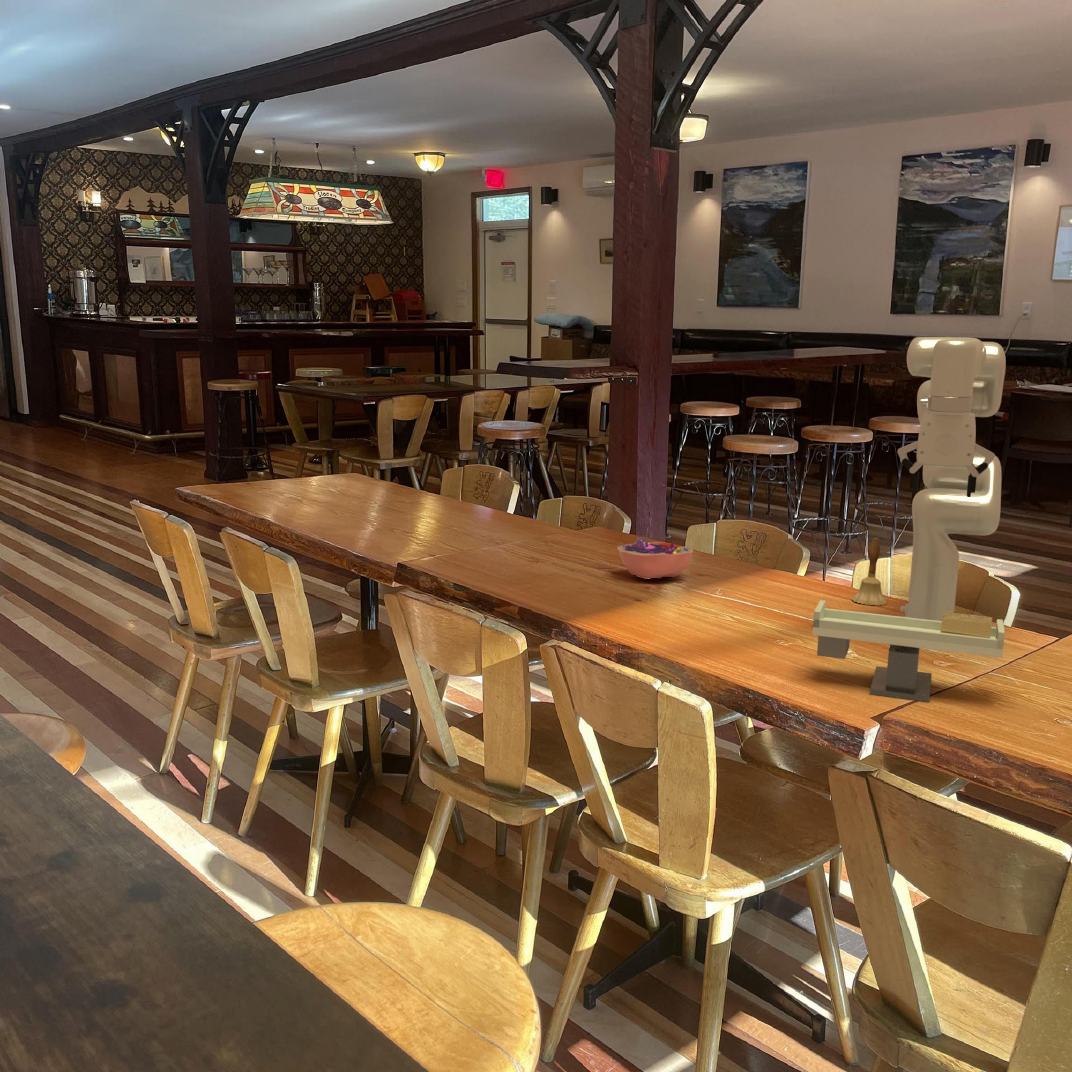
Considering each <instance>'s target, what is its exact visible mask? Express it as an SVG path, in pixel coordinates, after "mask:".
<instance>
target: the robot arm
mask: <svg viewBox="0 0 1072 1072" xmlns="http://www.w3.org/2000/svg"><path fill="white" fill-rule="evenodd" d="M1006 359H1007V358H1006V354H1005V349H1004V348H1003V347H1002V345H1001V344H999V343H998V342H994V341H982V340H980V339H978V338H975V337H967V336H965V337H964V336H963V337H960V336H959V337H957V336H918V337H914V338H913V339H912V340H911V342H910V344H909V346H908V349H907V352H906V365H907V369H908V372H909V373H910V375H911V376H913V377H923V378H930V379H929V380H926V381H924V382H923V383H922V384H920V386H919V388H918V391H917V395H916V406H917V415H918V417H917V418H918V421H919V424H920V426H919V431H918V438H917V440H916V441H914V442H912V443H910V444H909V443H908V444H907V445H904V446H901V447H900V448H898V449H897V452H896V453H897V455H898V457H899V459H900V461H901V463H902V465H903V466H904V467H905V468H906V469H907V470H908V471H909V473H910V482H909V489H910V490H912V494H913V495H914V497H913V499H912V505H911V516H912V531H913V532H912V533H913V535H912V537H913V539H912V555H911V564H910V565H911V566H910V567H911V568H910V577H909V590H908V591H909V592H908V602H907V603H906V604H904V605H901V606H900V607H899V611H900V612H902V613H904V617H908V618H917V619H926V620H935V621H942V617H943V614H944V611H945V612H953V613H955V605H956V594H957V585H958V584H957V583H958V575H959V562H960V553H959V551H958V547H957V545H956V544H955V543H954V542H953V541H952V539H951V538H950V537H949V534H950V535H952V534H953V535H954V534H957V535H968V536H989V535H992V534H994V533H995V532H996V530H997V529H998V528H999V524H1000V520H1001V502H1002V501H1001V500H1002V499H1001V498H1002V465H1001V461H1000V459H999V457H998V456H996V455H995V453H994V452H992V451H990V450H988V449H986V448H985V447H983V446H981V445H979V444H977V443H976V436H977V435H976V431H977V429H976V428H977V427H976V418H977V417H978V418H989V417H992V416H994V415H996V413H998V412H999V410H1000V407H1001V404H1002V397H1003V389H1004V382H1005V376H1006V366H1007V365H1006V363H1007V362H1006ZM914 450H916V461H915V462H914V463H913V462H912V461H911V460H910V458H908V455H907V454H908V453H910V452H912V451H914ZM921 467H922V480H923V481H922V482H923V484H924V486H925V488H924V489H922V490H919V491H918V489H919V478H920V477H919V476H920V472H919V470H920V469H921Z"/></svg>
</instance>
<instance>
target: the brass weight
mask: <svg viewBox="0 0 1072 1072" xmlns="http://www.w3.org/2000/svg"><path fill="white" fill-rule="evenodd" d="M992 625H993V617H991V616H986V615H978V614H977V615H976V614H967V613H960V612H954V613H953V612H945V611H944V614H943V617H942V624H941V633H950V634H958V635H967V636H976V637H984V638H990V636H991V627H993V626H992Z"/></svg>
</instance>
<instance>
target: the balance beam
mask: <svg viewBox="0 0 1072 1072" xmlns="http://www.w3.org/2000/svg"><path fill="white" fill-rule="evenodd" d="M995 622H996V623H995V624H996V625H995V626H991V636H990V638H984V637H976V636H967V635H958V634H950V633H941V624H942V621H935V620H926V619H917V618H908V617H905V616H898V615H897V616H896V615H890V614H882V613H881V614H880V613H871V612H863V611H852V610H844V609H843V610H842V609H835V608H827V607H826V600H822V599H820V600H819V602H818V603H817V605H816V608H815V609H814V610H813V623H812V625H813V626H812V636H816V637H817V636H818V637H817V647H816V648H817V650H816V651H817V652H816V656H818V657H826V658H833V659H834V658H835V659H841V660H846V657H847V655H848V651H849V649H850V643H851V641H859V642H869V643H876V644H885V645H890V644H891V645H900V646H908V647H916V648H920V649H925V650H932V651H933V650H934V651H943V652H950V653H951V652H952V653H958V654H967V655H974V656H975V655H976V656H984V657H992V658H1003V654H1004V645H1005V635H1006V632H1005V625H1004V620H1003V619H999V618H998V619H996V621H995Z"/></svg>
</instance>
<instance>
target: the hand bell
mask: <svg viewBox="0 0 1072 1072" xmlns="http://www.w3.org/2000/svg"><path fill="white" fill-rule="evenodd" d="M880 551H881V546H880V542H879V538H878V537H872V539H871V541H870V544H869V547H868V561H869V565H868V566H869V567H868V574H867V577H864V578H862V579H861V582H860V586H859V589H858V591H857V592H856V594H855V595H853V596H852V598H851V601H852V600H853V601H854V603H855V602H857V603H856V604H858V603H861V604H860V605H863V604H865V605H864V606H870V605H875V606H874V607H881V606H880V605H882V606H885V605H887V604H888V601H887V599H886V598H885V597H884V595H883V592H882V587H881V584H882V583H881V581H880V580H879V579H877V578H876V572H877V562H878V560H879V558H880V553H881V552H880ZM853 601H852V602H853Z"/></svg>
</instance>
